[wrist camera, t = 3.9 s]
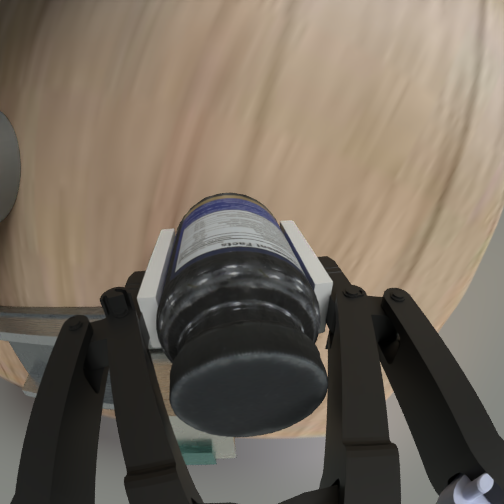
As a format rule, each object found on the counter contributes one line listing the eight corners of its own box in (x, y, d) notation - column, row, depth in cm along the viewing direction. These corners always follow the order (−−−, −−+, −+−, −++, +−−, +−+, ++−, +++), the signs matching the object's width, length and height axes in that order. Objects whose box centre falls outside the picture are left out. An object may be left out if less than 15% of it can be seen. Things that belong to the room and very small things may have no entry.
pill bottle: (247, 295, 19) (277, 451, 10) (161, 260, 17) (124, 424, 8) (298, 218, 17) (391, 360, 7) (204, 170, 15) (189, 295, 5)
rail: (-3, 306, 19) (-48, 371, 11) (259, 298, 22) (285, 402, 13) (36, 375, 24) (11, 439, 15) (260, 379, 26) (276, 465, 18)
